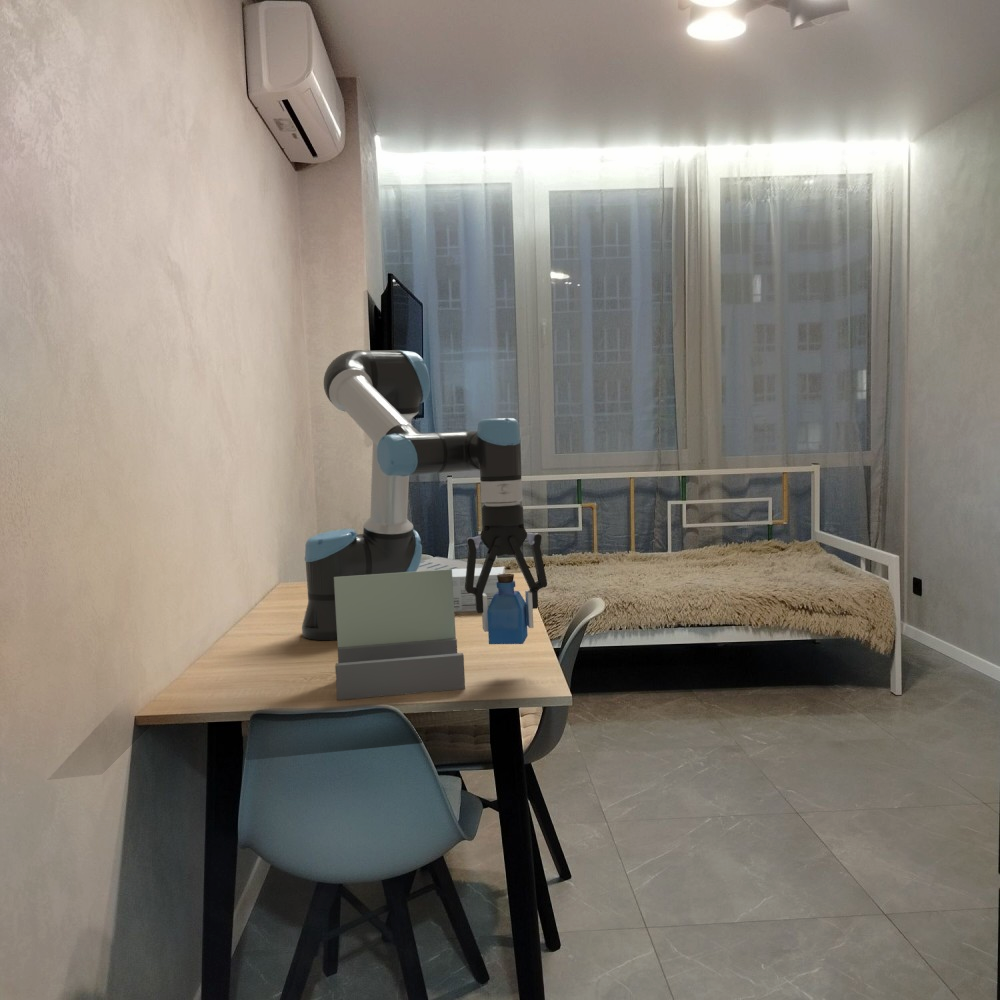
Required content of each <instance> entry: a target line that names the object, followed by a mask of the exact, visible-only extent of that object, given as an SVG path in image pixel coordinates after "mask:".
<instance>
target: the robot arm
mask: <svg viewBox="0 0 1000 1000" xmlns="http://www.w3.org/2000/svg"><path fill="white" fill-rule="evenodd" d="M323 376H324V377H323V389H324V393H325V396H326V398H327V399H328V400H329V402H330V403H331V404H332V405H333V406H334V408H336V409H338V410H339V411H341V412H344V413H345V412H346V414H348V415H349V417H350V418H351V419H352V420H353V421H354V422H355V423H356V425H358V426H359V428H360V429H362V431H363V432H364V433H365V434H366V436H368V437H369V438H370V439H371V441H372V456H371V457H372V458H371V459H372V460H371V487H370V488H371V491H370V516H369V518H368V519H367V520H366V521H365V522H363V532H362V533H359V534H358V533H357V532H356V530H355V529H354V528H344V529H337V530H336V529H335V530H331V531H330V530H329V531H326V532H321V533H318V534H316V535H313V536H311V537H309V538H308V539H307V541H305V542H306V543H305V545H304V546H305V547H304V548H305V551H304V554H305V555H304V562H305V572H306V585H307V586H306V587H307V606H306V610H305V612H304V613H305V614H304V618H303V621H302V625H301V626H302V627H301V634H302V637H303V638H305V639H308V640H315V641H335V640H337V624H336V607H335V589H334V577H342V576H357V575H371V574H386V573H401V572H415V571H417V569H418V567H419V564H420V561H422V554H423V551H422V550H423V546H422V544H421V542H422V539H421V537H420V535H419V533H418V531H416V530H415V529H414V524H413V523H412V522H411V521H410V520H409V519H408V505H409V487H410V486H409V483H410V482H409V481H410V476H414V475H427V474H428V475H429V474H443V473H458V472H471V471H473V472H475V471H477V472H479V477H480V478H479V479H480V502H481V503H482V504H484V505H483V506H482V507H481V519H482V520H481V522H482V523H481V525H482V530H481V532H480V535H477V536H474V537H470V536H468V537H467V538H465V541H466V546H467V550H468V551H467V560H466V561H467V570H466V580H465V590H466V591H467V592H468V593H472V594H474V595H475V600H476V610H477V611H476V612H477V613H478V614H481V619H482V620H481V621H482V624H481V625H482V630H483V631H484V632H485V633H486V632H487V633H488V616H487V610H488V604H487V595H486V594H485V593H484V594H483V592H484V589H485V586H486V583H487V580H488V577H489V574H490V571H491V569H492V566H494V563H495V561H496V558H497V557H502V556H504V555H507V556H508V555H509V556H514V559H515V560H516V562H517V564H518V567H519V568H520V571H521V573H522V575H523V578H524V579H525V581H526V585H527V586H528V590H527V589H525V591H524V593H525V594H524V595H525V602H526V619H527V628H529V629H534V627H535V626H534V609H535V610H536V609H538V608H539V596H538V594H539V590H541V589H544V588H547V586H548V580H547V576H546V575H547V574H546V571H545V569H546V568H545V565H544V559H543V554H542V550H541V548H542V547H541V545H542V535H541V534H540V533H538V532H534V533H531V532H527V530H526V528H525V518H524V506H523V504H522V503H520V502H522V501H523V481H522V452H521V451H522V448H521V445H522V444H521V443H522V442H521V441H522V439H521V436H520V426H519V425H520V424H519V422H518V420H517V419H515V418H513V417H506V418H505V417H503V418H502V417H501V418H486V419H485V418H484V419H481V420H479V421H478V423H477V430H465V431H464V430H462V431H446V432H445V431H443V432H442V431H441V432H419V430H417V428H415V427H414V425H412V420H413V418H415V416H417V415H418V414H419V413H420V412H419V409H420V404H422V403H425V402H426V401H427V400H428V398H429V395H430V391H431V380H430V379H431V378H430V374H429V370H428V366H427V365H426V362H425V361H424V359H423V357H422V356H420V355H419V354H418V353H417V352H415V351H408V350H401V349H392V350H390V349H389V350H388V349H387V350H385V349H383V350H380V349H379V350H361V349H360V350H359V349H357V350H356V349H355V350H350V351H349V350H348V351H346V352H344V353H341V354H340V355H338V356H337V357H336V358H335V359H333V360H332V361H331V362H330V363H329V364H328V366H327V368H326V371H325V373H324V375H323ZM526 539H527V541H528V544H529V545H531V552H532V553H531V554H532V556H533V563H534V568H535V572H536V577H537V581H535V579H534V576H533V574H532V572H531V570H530V568H529V566H528V563H527V561H526V559H525V557H524V553H523V552H522V550H521V547H522V545H523V544H524V542H525V541H526ZM480 543H483V544H484V546H485V547H486V548H487V549H488V550H487V553H486V555H485V559H484V563H483V564H484V565H483V568H482V570H481V573H480V576H479V579H478V582H477V585H476V587H475V586H473V584H474V574H475V564H476V563H477V561H476V560H477V550H478V549H479V548H480Z"/></svg>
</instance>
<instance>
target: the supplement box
mask: <svg viewBox="0 0 1000 1000" xmlns="http://www.w3.org/2000/svg"><path fill="white" fill-rule="evenodd" d="M505 568H506V567H505V566H494V567H492V569H491V571H490V574H489V577H488V580H487V583H486V586H485V589H484V592H483V594H484V593H485V594H486V595H487V604H488V607H489V605H490V603H491V601H492V598H493V596H494V595H495V593H496V592H497V591H498V588H497V584H496V582H497V581H498V578H497V575H499V574H506V569H505ZM443 570H445V569H443ZM466 570H467V568H466V569H452V580H453V597H454V613H459V612H460V613H461V612H477V610H476V600H475V595H474V594H472V593H468V592H467V591H466V590H465V580H466ZM481 570H482V568H475V574H474V584H473V586H475V587H476V585H477V582H478V579H479V576H480V573H481Z"/></svg>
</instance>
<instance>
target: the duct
mask: <svg viewBox="0 0 1000 1000" xmlns="http://www.w3.org/2000/svg"><path fill="white" fill-rule="evenodd" d="M464 657H465V656H464V653H463V652H458V639H457V637H456V638H450V639H438V640H426V641H413V642H401V643H388V644H376V645H363V646H351V647H338V646H337V662H336V663H335V665H334V666H335V669H334V670H335V682H336V685H335V686H336V700H337V701H343V700H351V699H352V700H356V699H364V698H376V697H388V696H399V695H409V694H421V693H430V692H431V693H432V692H433V693H435V692H443V691H455V690H465V689H466V679H465V676H466V675H465V660H464V659H465V658H464Z"/></svg>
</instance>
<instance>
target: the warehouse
mask: <svg viewBox="0 0 1000 1000" xmlns="http://www.w3.org/2000/svg"><path fill="white" fill-rule="evenodd" d="M483 565H484V563H478V562H476V564H475V568H483ZM492 567H495V566H494V565H493V566H492ZM466 568H467V560H459V559H455V558H453V559H452V558H448V557H441V556H434V557H430V558H427V559H424V560H421V561H420V564H419V567H418V569H417V571H430V570H443V569H466Z"/></svg>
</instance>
